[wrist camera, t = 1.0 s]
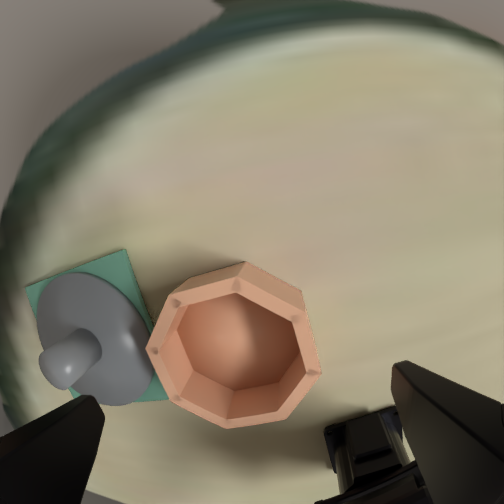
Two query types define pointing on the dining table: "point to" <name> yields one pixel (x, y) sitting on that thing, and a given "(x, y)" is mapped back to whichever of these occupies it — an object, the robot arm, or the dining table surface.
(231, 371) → the bowl
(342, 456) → the robot arm
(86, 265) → the mat
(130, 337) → the lid
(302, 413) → the dining table surface
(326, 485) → the dining table surface
